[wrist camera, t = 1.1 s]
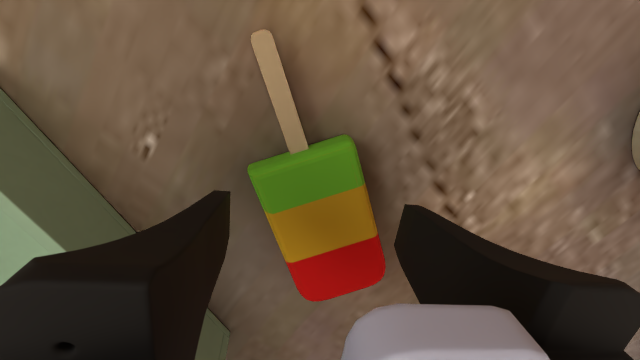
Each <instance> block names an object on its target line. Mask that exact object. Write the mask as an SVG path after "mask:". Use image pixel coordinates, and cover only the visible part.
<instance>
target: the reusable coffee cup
mask: <svg viewBox="0 0 640 360" xmlns="http://www.w3.org/2000/svg"><path fill="white" fill-rule="evenodd" d="M632 155H633V159H634V161H635V164H636V166H637V168H638V169H639V170H640V113H639V115H638V117H637V120H636V124H635V127H634V130H633V137H632Z"/></svg>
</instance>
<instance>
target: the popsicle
mask: <svg viewBox="0 0 640 360" xmlns="http://www.w3.org/2000/svg"><path fill="white" fill-rule="evenodd" d="M251 44H252V47H253V50H254V53H255V56H256V58H257V61H258V64H259V67H260V70H261V73H262V75H263V78H264V81H265V84H266V87H267V90H268V92H269V95H270V98H271V101H272V104H273V107H274V109H275V112H276V115H277V118H278V121H279V124H280V126H281V129H282V132H283V135H284V138H285V141H286V143H287V146H288V149H289V152H286V153H283V154H280V155H277V156H274V157H271V158H267V159H264V160H261V161H258V162H255V163H252V164H249V166H248V169H247V172H248V174H249V177H250V179H251V181H252V184H253V186H254V188H255V191H256V193H257V196H258V198H259V200H260V203H261V205H262V207H263V210H264V212H265V214H266V217H267V219H268V221H269V224H270V226H271V228H272V231H273V233H274V235H275V238H276V240H277V243H278V245H279V247H280V250H281V252H282V254H283V257H284V259H285V261H286V264H287V266H288V268H289V271H290V273H291V275H292V278H293V280H294V282H295V285H296V287H297V289H298V291H299V292H300V294H301V295H302V296H303V297H304V298H305V299H307V300H310V301H323V300H327V299H331V298H334V297H337V296H340V295H344V294H347V293H350V292H353V291H357V290H360V289H363V288H366V287H369V286H371V285H374V284H376V283H377V282H378V281H380V280H381V279H382V277H383V276H384V273H385V268H386V266H385V259H384V255H383V251H382V247H381V243H380V239H379V235H378V231H377V227H376V224H375V220H374V216H373V212H372V208H371V204H370V200H369V196H368V192H367V188H366V184H365V181H364V177H363V173H362V169H361V165H360V161H359V157H358V153H357V149H356V146H355V143H354V141H353V140H352V138H351V137H350V136H348V135H340V136H337V137H334V138H330V139H327V140H324V141H321V142H318V143H315V144H312V145H308V144H307V141H306V138H305V135H304V132H303V129H302V126H301V123H300V119H299V116H298V113H297V110H296V107H295V104H294V101H293V98H292V95H291V92H290V89H289V86H288V82H287V79H286V76H285V73H284V70H283V67H282V64H281V61H280V58H279V55H278V52H277V48H276V45H275V42H274V39H273V37H272V34H271V33H270V32H269V31H268V30H259V31H256V32H254V33H253V34H252V36H251Z"/></svg>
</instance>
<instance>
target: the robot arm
mask: <svg viewBox="0 0 640 360" xmlns="http://www.w3.org/2000/svg"><path fill="white" fill-rule="evenodd" d="M229 226H230V192H229V191H215V190H214V191H212V192H211V193H209V194H208V195H206V196H205V197H204V198H202V199H201V200H199V201H198V202H196V203H195V204H193V205H191V206H190V207H188V208H187V209H185V210H183V211H182V212H180V213H178V214H176V215H175V216H173V217H171V218H169V219H168V220H166V221H164V222H162V223H159V224H157V225H155V226H153V227H150V228H148V229H146V230H143V231H141V232H138V233H135V234H132V235H129V236H126V237H123V238H121V239H118V240H114V241H111V242H107V243H104V244H100V245H96V246H92V247H88V248H83V249H79V250H74V251H68V252H63V253H57V254H52V255H46V256H40V257H34V258H33V259H32V260H30V261H29V262H28V263H27V264H26V265H24V266H23V267H22V268H21V269H20V270H19V271H17V272H16V273H15V274H14V275H13V276H12V277H10V278H9V279H8V280H7V281H6V282H5V283H3V284H2V285H1V286H0V360H195V356H196V351H197V347H198V342H199V338H200V334H201V330H202V325H203V321H204V317H205V313H206V310H207V307H208V304H209V301H210V298H211V295H212V292H213V290H214V287H215V284H216V281H217V278H218V276H219V273H220V270H221V267H222V264H223V261H224V258H225V254H226V250H227V245H228V240H229ZM394 247H395V250H396V253H397V256H398V259H399V262H400V265H401V267H402V269H403V271H404V273H405V275H406V277H407V279H408V281H409V283H410V285H411V287H412V289H413V291H414V293H415V295H416V296H417V298H418V300H419V302H420V304H393V305H387V306H382V307H376V308H374V309H373V310H371V311H370V312H368V313H367V314H365V315H363V316H362V317H360V318H359V319H357V320H356V322H355V323H354V325H353V327H352V328H351V330H350V332H349V333H348V335H347V337H346V340H345V345H344V349H343V354H342V357H341V359H340V360H633V359H632V358H631V357H630V356H629V355H628V354H627V353H626V352H624V351H623V350H624V349H625V347H626V346H627V344H628V343H629V342H630V340H631V339H632V337H633V336H634V335H635V333H636V332H637V330H638V329H639V328H640V293H639V292H637V291H636V290H634V289H633V288H631V287H630V286H629V285H627V284H626V283H624V282H622V281H619V280H616V279H611V278H607V277H602V276H598V275H593V274H588V273H584V272H579V271H575V270H571V269H568V268H564V267H560V266H556V265H553V264H550V263H546V262H543V261H540V260H537V259H534V258H531V257H528V256H525V255H522V254H519V253H517V252H514V251H511V250H509V249H506V248H504V247H502V246H499V245H497V244H494V243H492V242H490V241H488V240H485V239H483V238H481V237H479V236H477V235H475V234H473V233H471V232H469V231H467V230H465V229H464V228H462V227H460V226H458V225H456V224H454V223H452V222H451V221H449V220H447V219H445V218H443V217H442V216H440V215H438V214H436V213H434V212H432V211H430V210H428V209H426V208H424V207H422V206H419V205H407V204H405V205H404V209H403V213H402V217H401V220H400V224H399V228H398V232H397V235H396V239H395V243H394Z"/></svg>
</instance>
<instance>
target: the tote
mask: <svg viewBox="0 0 640 360" xmlns="http://www.w3.org/2000/svg"><path fill="white" fill-rule="evenodd" d="M135 233H136V232H135V231H134V230H133V229H132V228H131V226H130V225H129V224H128V223H127V222H126V221H125V220H124V219H123V218H122V217H121V216H120V215H119V214H118V213H117V212H116V211H115V209H114V208H113V207H112V206H111V205H110V204H109V203H108V202H107V201H106V200H105V199H104V198H103V197H102V196H101V195H100V194H99V192H98V191H97V190H96V189H95V188H94V187H93V186H92V185H91V184H90V183H89V182H88V181H87V180H86V179H85V178H84V177H83V176H82V174H81V173H80V172H79V171H78V170H77V169H76V168H75V167H74V166H73V165H72V164H71V163H70V162H69V161H68V160H67V159H66V157H65V156H64V155H63V154H62V153H61V152H60V151H59V150H58V149H57V148H56V147H55V146H54V145H53V144H52V143H51V142H50V140H49V139H48V138H47V137H46V136H45V135H44V134H43V133H42V132H41V131H40V130H39V129H38V128H37V127H36V126H35V125H34V123H33V122H32V121H31V120H30V119H29V118H28V117H27V116H26V115H25V114H24V113H23V112H22V111H21V110H20V109H19V108H18V106H17V105H16V104H15V103H14V102H13V101H12V100H11V99H10V98H9V97H8V96H7V95H6V94H5V93H4V92H3V91H2V89H1V88H0V286H1V285H2V284H3V283H5V282H6V281H7V280H8V279H9V278H10V277H12V276H13V275H14V274H15V273H16V272H17V271H19V270H20V269H21V268H22V267H23V266H24V265H26V264H27V263H28V262H29V261H30V260H32V259H33V258H34V257H40V256H46V255H52V254H57V253H63V252H68V251H74V250H79V249H83V248H88V247H92V246H96V245H100V244H104V243H107V242H111V241H114V240H118V239H121V238H123V237H126V236H129V235H132V234H135ZM229 336H230V332H229V331H228V330H227V328H226V327H225V326H224V325H223V324H222V323H221V322H220V321H219V320H218V319H217V318H216V317H215V316H214V315H213V314H212V313H211V311H210V310H209V309H208V308H207V310H206V313H205V317H204V321H203V325H202V330H201V334H200V338H199V342H198V347H197V351H196V356H195V360H225V358H226V353H227V347H228V342H229Z"/></svg>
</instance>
